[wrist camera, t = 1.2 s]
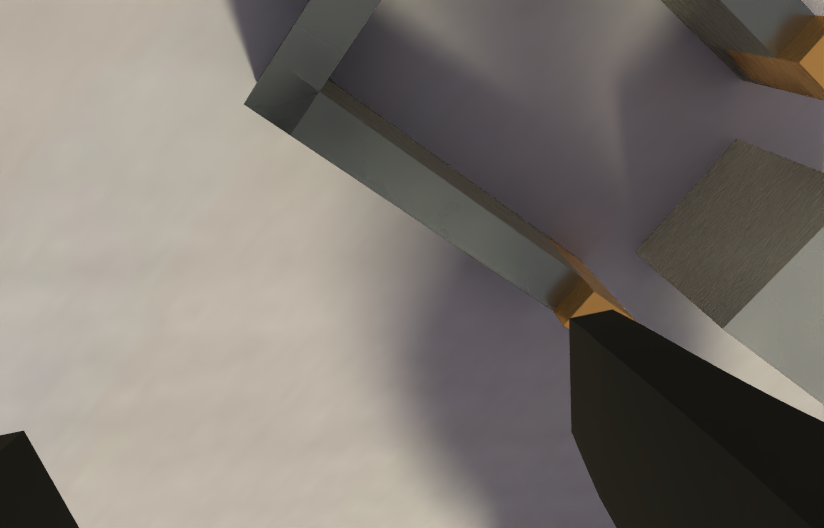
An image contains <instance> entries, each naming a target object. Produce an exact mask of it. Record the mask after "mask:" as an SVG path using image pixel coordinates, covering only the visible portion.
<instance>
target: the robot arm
mask: <svg viewBox="0 0 824 528" xmlns="http://www.w3.org/2000/svg"><path fill="white" fill-rule="evenodd" d="M569 333H570V379H571V424H572V434H573V436H574V439H575V441H576V443H577V446H578V448H579V451H580V453H581V455H582V458H583V460H584V463H585V465H586V467H587V470H588V472H589V474H590V477H591V479H592V481H593V483H594V486H595V488H596V490H597V492H598V495H599V497H600V499H601V501H602V502H603V504H604V506H605V508H606V510H607V511H608V513H609V515H610V517H611V518H612V520H613V522H614V524H615V525H616V527H617V528H824V422H823V421H821V420H819V419H816V418H814V417H812V416H810V415H808V414H806V413H804V412H802V411H800V410H798V409H796V408H794V407H792V406H790V405H788V404H786V403H784V402H782V401H780V400H778V399H776V398H774V397H772V396H770V395H768V394H766V393H764V392H763V391H761V390H759V389H757V388H755V387H753V386H751V385H749V384H747V383H745V382H744V381H742V380H740V379H738V378H736V377H734V376H732V375H731V374H729V373H727V372H725V371H723V370H721V369H720V368H718V367H716V366H714V365H712V364H710V363H709V362H707V361H705V360H703V359H701V358H700V357H698V356H696V355H694V354H693V353H691V352H689V351H687V350H685V349H684V348H682V347H680V346H678V345H677V344H675V343H673V342H671V341H669V340H668V339H666V338H664V337H662V336H661V335H659V334H657V333H655V332H654V331H652V330H650V329H648V328H646V327H645V326H643V325H641V324H639V323H637V322H636V321H634V320H632V319H630V318H628V317H626V316H625V315H623V314H621V313H619V312H617V311H615V310H613V309H612V310H607V311H602V312H597V313H592V314H587V315H582V316H578V317H573V318H569ZM0 528H79V527H78V525H77V523H76V522H75V520H74V518H73V516H72V515H71V513H70V511H69V509H68V508H67V506H66V504H65V502H64V501H63V499H62V497H61V495H60V493H59V492H58V490H57V488H56V486H55V485H54V483H53V481H52V479H51V478H50V476H49V474H48V472H47V471H46V469H45V467H44V465H43V464H42V462H41V460H40V458H39V457H38V455H37V453H36V451H35V450H34V448H33V446H32V444H31V442H30V441H29V439H28V437H27V435H26V434H25V432H24V431H20V432H15V433H10V434H5V435H0Z"/></svg>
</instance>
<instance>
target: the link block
mask: <svg viewBox="0 0 824 528" xmlns="http://www.w3.org/2000/svg"><path fill="white" fill-rule="evenodd" d="M636 253H637V254H638V255H639V256H640V257H641V258H643V259H644V260H645V261H646V262H647V263H648V264H649V265H650V266H652V267H653V268H654V269H655V270H656V271H657V272H658V273H660V274H661V275H662V276H663V277H664V278H665V279H666V280H668V281H669V282H670V283H671V284H672V285H673V286H674V287H676V288H677V289H678V290H679V291H680V292H681V293H682V294H684V295H685V296H686V297H687V298H688V299H689V300H690V301H691V302H693V303H694V304H695V305H696V306H697V307H698V308H699V309H701V310H702V311H703V312H704V313H705V314H706V315H707V316H709V317H710V318H711V319H712V320H713V321H714V322H715V323H717V324H718V325H719V326H720V327H721V328H722V329H723V330H725V331H726V332H727V333H729V334H730V335H731V336H733V337H734V338H735V339H737V340H738V341H739V342H741V343H742V344H743V345H745V346H746V347H747V348H749V349H750V350H751V351H753V352H754V353H755V354H757V355H758V356H759V357H761V358H762V359H763V360H765V361H766V362H767V363H769V364H770V365H771V366H773V367H774V368H775V369H777V370H778V371H779V372H781V373H782V374H783V375H785V376H786V377H787V378H789V379H790V380H791V381H793V382H794V383H795V384H797V385H798V386H799V387H801V388H802V389H803V390H805V391H806V392H807V393H809V394H810V395H811V396H813V397H814V398H815V399H817V400H818V401H819V402H821V403H822V404H823V405H824V173H823V172H820V171H817V170H815V169H812V168H810V167H807V166H805V165H802V164H800V163H797V162H794V161H792V160H789V159H787V158H784V157H782V156H779V155H777V154H774V153H771V152H769V151H766V150H764V149H761V148H759V147H756V146H754V145H751V144H748V143H746V142H743V141H741V140H738V139H736V141H735V142H734V143H733V144H732V145H731V146H730V147H729V148H728V149H727V151H726V152H725V153H724V154H723V155H722V156H721V157H720V158H719V159H718V161H717V162H716V163H715V164H714V165H713V166H712V167H711V168H710V169H709V171H708V172H707V173H706V174H705V175H704V176H703V177H702V178H701V179H700V181H699V182H698V183H697V184H696V185H695V186H694V187H693V188H692V189H691V191H690V192H689V193H688V194H687V195H686V196H685V197H684V198H683V199H682V201H681V202H680V203H679V204H678V205H677V206H676V207H675V208H674V209H673V211H672V212H671V213H670V214H669V215H668V216H667V217H666V218H665V219H664V221H663V222H662V223H661V224H660V225H659V226H658V227H657V228H656V229H655V231H654V232H653V233H652V234H651V235H650V236H649V237H648V238H647V239H646V241H645V242H644V243H643V244H642V245H641V246H640V247H639V248H638V249H637V251H636Z"/></svg>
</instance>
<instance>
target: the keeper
mask: <svg viewBox="0 0 824 528" xmlns="http://www.w3.org/2000/svg"><path fill="white" fill-rule="evenodd" d="M380 1H381V0H309V2H308V3H307V5H306V6H305V8H304V10H303V11H302V13H301V14H300V16H299V17H298V19H297V21H296V22H295V24H294V25H293V27H292V28H291V30H290V32H289V33H288V35H287V36H286V38H285V39H284V41H283V43H282V44H281V46H280V47H279V49H278V50H277V52H276V53H275V55H274V57H273V58H272V60H271V61H270V63H269V64H268V66H267V68H266V69H265V71H264V72H263V74H262V75H261V77H260V79H259V80H258V82H257V83H256V85H255V87H254V88H253V90H252V92H251V93H250V95H249V97H248V98H247V100H246V102H245V103H244V105H246V106H247V107H249V108H250V109H252V110H253V111H255V112H256V113H258V114H259V115H261V116H262V117H264V118H265V119H267V120H268V121H270V122H271V123H273V124H274V125H276V126H277V127H279V128H280V129H282V130H283V131H285V132H286V133H288V134H289V135H291V136H292V137H294V138H295V139H297V140H298V141H300V142H301V143H303V144H304V145H306V146H307V147H309V148H310V149H312V150H313V151H315V152H316V153H318V154H319V155H321V156H322V157H324V158H325V159H327V160H328V161H330V162H331V163H333V164H334V165H336V166H337V167H339V168H340V169H342V170H343V171H345V172H346V173H348V174H349V175H351V176H352V177H354V178H355V179H357V180H358V181H359V182H361V183H362V184H364V185H365V186H367V187H368V188H370V189H371V190H373V191H374V192H376V193H377V194H379V195H380V196H382V197H383V198H385V199H386V200H388V201H389V202H391V203H392V204H394V205H395V206H397V207H398V208H400V209H401V210H403V211H404V212H406V213H407V214H409V215H410V216H412V217H413V218H415V219H416V220H418V221H419V222H421V223H422V224H424V225H425V226H427V227H428V228H430V229H431V230H433V231H434V232H436V233H437V234H439V235H440V236H442V237H443V238H445V239H446V240H448V241H449V242H451V243H452V244H454V245H455V246H457V247H458V248H460V249H461V250H463V251H464V252H466V253H467V254H469V255H470V256H472V257H473V258H475V259H476V260H478V261H479V262H481V263H482V264H484V265H485V266H487V267H488V268H490V269H491V270H493V271H494V272H496V273H497V274H499V275H500V276H502V277H503V278H505V279H506V280H508V281H509V282H511V283H512V284H514V285H515V286H517V287H518V288H520V289H521V290H523V291H524V292H526V293H527V294H529V295H530V296H532V297H533V298H535V299H536V300H538V301H539V302H541V303H542V304H544V305H545V306H547V307H548V308H550V309H551V310H552V311H554V313H555V314H556V316H557V317H558V318H559V320H560V321H561V323H562V324H563V326H565V327H566V328H568V329H569V318H573V317H578V316H582V315H587V314H592V313H597V312H602V311H607V310H612V309H613V310H615V311H617V312H619V313H621V314H623V315H625V316H626V317H628V318H630V319H632V320H634V321H636V320H635V319H634V318H633V317H632V316H631V315H630V314H629V313H628V312H627V311H626V309H625V308H624V307H623V306H622V305H621V304H620V303H619V302H618V301H617V300H616V298H615V297H614V296H613V295H612V294H611V293H610V292H609V291H608V290H607V289H606V288H605V286H604V285H603V284H602V283H601V282H600V281H599V280H598V279H597V278H596V277H595V275H594V274H593V273H592V272H591V271H590V270H589V269H588V268H587V267H586V266H585V264H584V263H583V262H581V261H580V260H579V259H577V258H576V257H574V256H573V255H572V254H570V253H569V252H567V251H566V250H565V249H563V248H562V247H560V246H559V245H558V244H556V243H555V242H554V241H552V240H551V239H549V238H548V237H547V236H545V235H544V234H542V233H541V232H540V231H538V230H537V229H536V228H534V227H533V226H531V225H530V224H529V223H527V222H526V221H524V220H523V219H522V218H520V217H519V216H517V215H516V214H515V213H513V212H512V211H511V210H509V209H508V208H506V207H505V206H504V205H502V204H501V203H499V202H498V201H497V200H495V199H494V198H493V197H491V196H490V195H488V194H487V193H486V192H484V191H483V190H481V189H480V188H479V187H477V186H476V185H475V184H473V183H472V182H470V181H469V180H468V179H466V178H465V177H463V176H462V175H461V174H459V173H458V172H456V171H455V170H454V169H452V168H451V167H450V166H448V165H447V164H445V163H444V162H443V161H441V160H440V159H438V158H437V157H436V156H434V155H433V154H432V153H430V152H429V151H427V150H426V149H425V148H423V147H422V146H420V145H419V144H418V143H416V142H415V141H413V140H412V139H411V138H409V137H408V136H407V135H405V134H404V133H402V132H401V131H400V130H398V129H397V128H395V127H394V126H393V125H391V124H390V123H389V122H387V121H386V120H384V119H383V118H382V117H380V116H379V115H377V114H376V113H375V112H373V111H372V110H370V109H369V108H368V107H366V106H365V105H364V104H362V103H361V102H359V101H358V100H357V99H355V98H354V97H352V96H351V95H350V94H348V93H347V92H346V91H344V90H343V89H341V88H340V87H339V86H337V85H336V84H334V83H333V82H332V81H330V80H329V79H328V78H329V77H330V75H331V74H332V72H333V71H334V70H335V68H336V67H337V65H338V64H339V62H340V61H341V59H342V58H343V56H344V55H345V53H346V52H347V50H348V49H349V47H350V46H351V44H352V43H353V41H354V40H355V38H356V37H357V35H358V34H359V32H360V31H361V29H362V28H363V26H364V25H365V23H366V22H367V20H368V19H369V17H370V16H371V14H372V13H373V11H374V10H375V8H376V7H377V6H378V4H379V3H380ZM662 1H663V2H664V3H665V4H666V5H667V6H668V7H669V8H670V9H671V10H672V11H673V12H674V13H675V14H676V15H677V16H678V17H679V18H680V19H681V20H682V21H683V22H684V23H685V24H686V25H687V26H688V27H689V28H690V29H691V30H692V31H693V32H694V33H695V34H696V35H697V36H698V37H699V38H700V39H701V40H702V41H703V42H704V43H705V44H706V45H707V46H709V47H710V48H711V49H712V50H713V51H714V52H715V53H716V54H717V55H718V56H719V57H720V58H721V59H722V60H723V61H724V62H725V63H726V64H727V65H728V66H729V67H730V68H731V69H732V70H733V71H734V72H735V73H736V74H737V75H738V76H739V77H740V78H741V79H742V80H744V81H748V82H752V83H756V84H760V85H764V86H768V87H772V88H776V89H780V90H784V91H788V92H792V93H796V94H801V95H805V96H809V97H813V98H817V99H821V100H824V16H815V15H814V14H813V13H812V12H811V11H810V10H809V9H808V8H807V6H806V5H805V4H804V3H803V2H802V1H801V0H662Z"/></svg>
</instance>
